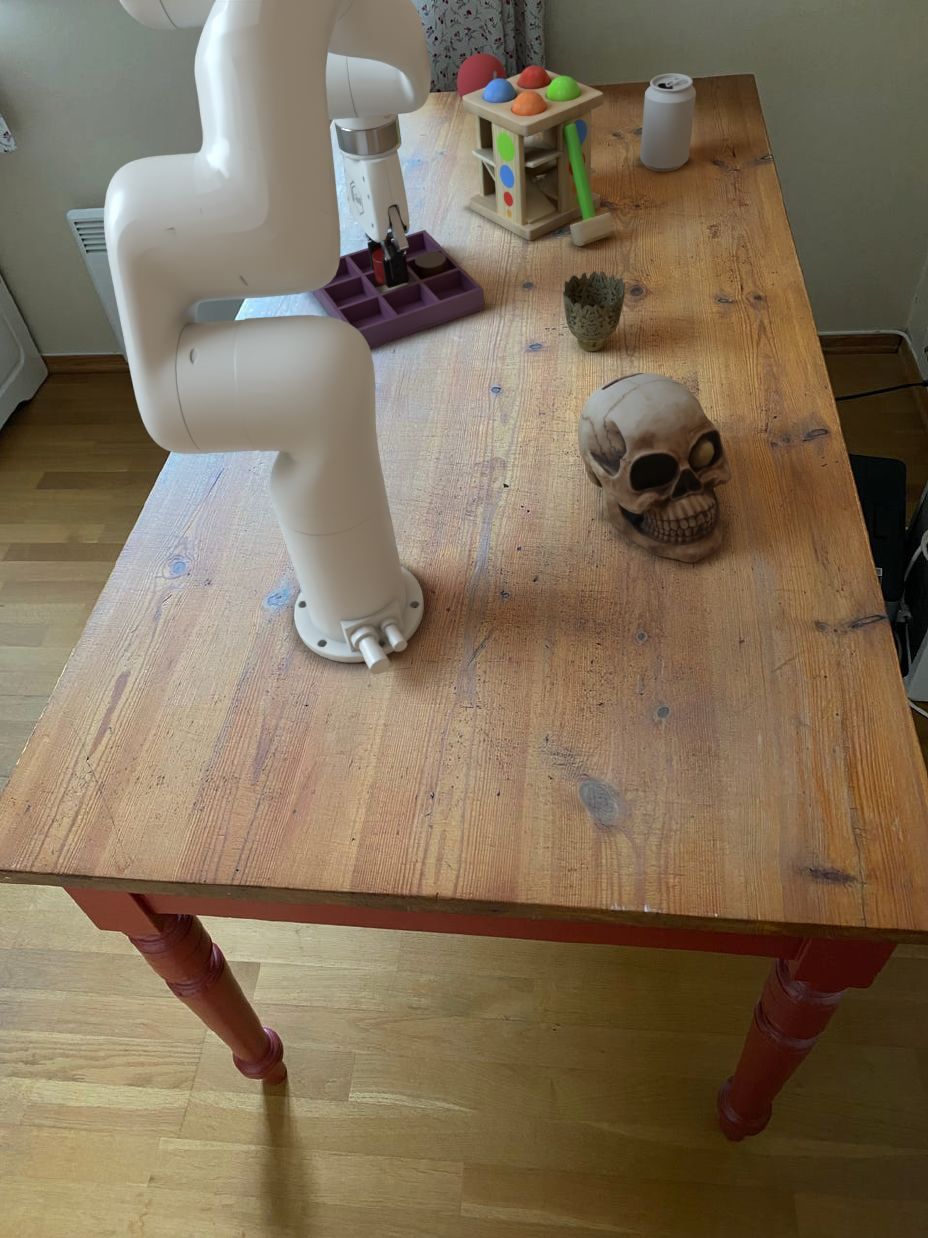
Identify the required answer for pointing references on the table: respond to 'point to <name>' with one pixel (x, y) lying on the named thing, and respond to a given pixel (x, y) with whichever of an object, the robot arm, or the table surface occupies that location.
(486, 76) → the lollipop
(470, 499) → the table surface
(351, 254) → the board
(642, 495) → the coin bank
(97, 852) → the table surface
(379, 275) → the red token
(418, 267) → the walnut token
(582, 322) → the cup
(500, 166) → the pounding bench toy
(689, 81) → the can
